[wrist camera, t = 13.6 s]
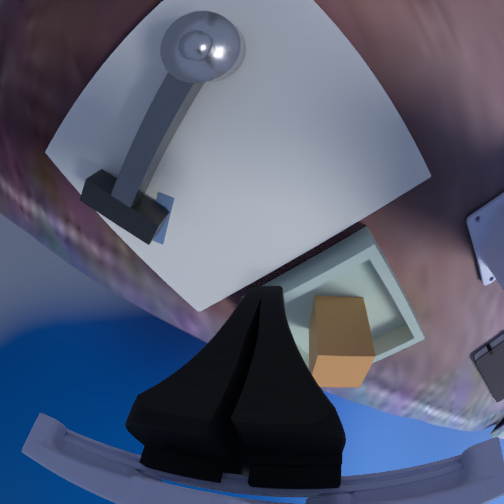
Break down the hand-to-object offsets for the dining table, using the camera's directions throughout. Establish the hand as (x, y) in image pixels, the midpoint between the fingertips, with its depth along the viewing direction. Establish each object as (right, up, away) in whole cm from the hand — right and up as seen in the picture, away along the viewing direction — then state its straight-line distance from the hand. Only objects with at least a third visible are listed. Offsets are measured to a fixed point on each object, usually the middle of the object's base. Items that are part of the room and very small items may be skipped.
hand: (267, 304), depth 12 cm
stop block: (+6, -3, +11) cm, 13 cm away
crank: (-6, +10, +4) cm, 12 cm away
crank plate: (-3, +9, +6) cm, 11 cm away
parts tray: (+7, -3, +12) cm, 14 cm away
